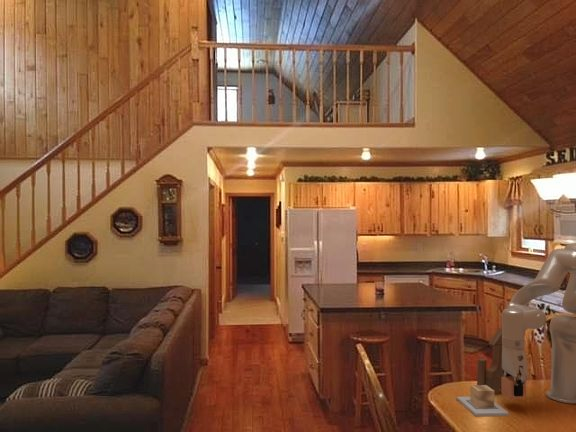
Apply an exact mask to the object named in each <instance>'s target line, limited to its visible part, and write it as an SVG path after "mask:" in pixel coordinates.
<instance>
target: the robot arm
mask: <svg viewBox="0 0 576 432" xmlns="http://www.w3.org/2000/svg"><path fill="white" fill-rule="evenodd" d="M568 273H569V279H568V281H567V285H566V289H565V291H564V295H563V298H562V303H561V306H562V309H563V310H564V311H566V312H567V313H570V314H573V315H576V242H575V243H573V242H572V243H569V244H568V243H567V245H565V246H564V248H555V249H553V250H552V251H550V252H549V254H548V256H547V257H546V259H545V260H544V262H543V264H542V266H541V268H540V270H539V272H538V273H537V275H536V276H535V278H534V279H533V280H531V281H530V282H528V283H527V284H525V285H524V286H522V287H521V288H519V289H518V290H517V291H516V292H514V294H513V296H512V297H511V299H510V301H509V303H508V304H507V307H506V308H504V309H503V310H502V312H501V329H502V347H503V348H502V364H501V366H502V369H503V373H504V377H508V376H513V377H514V381H515V385H514V396H523V385H524V383H525V381H526V382H527V377H528V360H527V354H526V348H525V346H526V345H525V344H526V343H525V342H526V341H525V340H526V339H525V334H526V333H525V332H526V329H532V330H535V329H540V328H542V327H544V326H545V324H546V322H547V314H546V313H545V312H544V311H543V310H542V309H541V308H537V307H533V306H528V304H529V303H530V302H531V301H533V300H534V299H537V298H540V297H543V296H549V295H551V294H554V293H556V292H558V291H559V289H560V287H561V285H562V283H563V281H564V279H566V276H567V274H568ZM549 333H550V337H551V371H550V372H551V377H550V378H551V379H550V389H548V390H547V391H546V392H545V394H546V396H547V398H549V399H551V400H552V401H553V400H554V401H556V402H560V403H564V404H572V405H573V404H576V317H575V316H571V315H566V314H559V315H556V316H554V317H552V318H551V320H550V323H549ZM517 378H520V379H519V380H518V381H517Z"/></svg>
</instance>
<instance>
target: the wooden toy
mask: <svg viewBox="0 0 576 432" xmlns="http://www.w3.org/2000/svg"><path fill="white" fill-rule="evenodd" d="M488 345H490V346H492V361H491V364H490V366H489V367H488V368H487V359H486V358H482V357H481V358H480V357H479V358H477V373H476V374H477V377H476V381H477V382H476V385H487V386H488V387H490V388H491V389H493V390H494V396H495V395H498V394H499V392H500V389H502V382H501V377H504V373H503V369H502V366H501V364H502V348H503V347H502V327H499V328H497V331H496V332H495V333H494V335H493V336H492V337H491V339H490V341H489V342H488Z"/></svg>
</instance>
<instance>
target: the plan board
mask: <svg viewBox="0 0 576 432" xmlns="http://www.w3.org/2000/svg"><path fill="white" fill-rule="evenodd" d="M456 401H457V402H459V403H460V404H461V405H462V406H463V407H464V408H465V409H467V410H468V411H469V412H470V413H471V414H472V415H474V416H475V417H509V416H510V413H509V412H508V411H507V410H506V409H504V408H503V407H502V406H500V405H499V404H498V403H497V402H496V401H494V408H477V407H476V406H475V405H474V404H473V403H471V402H470V396H456Z"/></svg>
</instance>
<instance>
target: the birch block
mask: <svg viewBox="0 0 576 432" xmlns="http://www.w3.org/2000/svg"><path fill="white" fill-rule="evenodd" d="M469 397H470V402H471V403H473V404H474V405H475V406H476V407H477V408H494V402H495V395H494V390H493V389H491V388H490V387H488V386H487V385H477V384H473V385H471V384H470V396H469Z"/></svg>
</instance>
